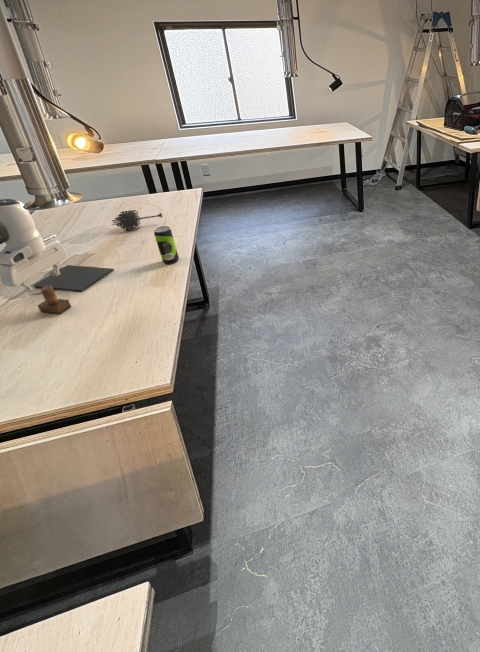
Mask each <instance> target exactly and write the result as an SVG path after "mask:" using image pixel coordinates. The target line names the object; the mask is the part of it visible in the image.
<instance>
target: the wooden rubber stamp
mask: <svg viewBox="0 0 480 652" xmlns="http://www.w3.org/2000/svg"><path fill="white" fill-rule="evenodd" d="M39 289H40V292H41V294H42V297H43V299H44V301H42V302H41V303H39V304H38V305H37V308H38V310H39V312H40V313H42V314H53V315H62V314H63V313H64V312H66V311H67V310H69V309H70V308H72V304H71V303H70V301H69V299H63V298H58V296H57V294H56V292H55V290H54V289H53V288H52V286H45V287H43V288H39Z"/></svg>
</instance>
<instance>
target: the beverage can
mask: <svg viewBox="0 0 480 652" xmlns="http://www.w3.org/2000/svg"><path fill="white" fill-rule="evenodd" d="M153 234H154V237H155V242H156V244H157V248H158V251H159V255H160V257H161V259H162V260H161V261H162V263H163V264H165V265H172V263H173V264H176V263H177V262H178V261H179V259H180V258H179V257H180V256H179V253H178V250H177V246H176V242H175V239H174V235H173V232H172V229H171V227H170V226H168V225H162V226H159V227H157V228H154V230H153Z"/></svg>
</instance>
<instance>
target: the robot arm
mask: <svg viewBox="0 0 480 652" xmlns="http://www.w3.org/2000/svg"><path fill="white" fill-rule="evenodd" d="M24 205H25V204H24V203H23V202H21V201H20V200H18V199H12V198H3V199H0V245H2V244H5V246H4V247H3V248H2V249H1V250H0V281H1V282H2V284H3V285H4V286H6V287H11V288H12V287H13V288H15V287H18V286H21V287H24V288H25V289H26V291H27V292H28V293H32V292H34V291H36V289H37V288H35V286H34V284H29V280H30V279H32V278H34V277H36V276H38V275H39V274H41V273H43V272H44V271H46V270H47V269H48V270H49V268H51V267H52V271H50V273H51V274H52V275H53V276H54V277H55V276H56V277H57V276H58V275H60V272H59V270H60V266H61V263H60V262H61V261H63V260H65V259H66V258H67V256H68V253H67V251H66V249H65V247H64V246H63V245H62V243H61V242H60V239H59V237H58V236H57V235H54V234H53V235H52V234H50V235H48V236H46V237H44V238H42V236H41V234H40V232H39V231H38V230H37V228H36V226H35V225H36V224H35V221H34V219H33V217H32V214H31V213H30V211H29V209H28V210H26V209H24V208H23V206H24Z"/></svg>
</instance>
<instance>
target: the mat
mask: <svg viewBox="0 0 480 652" xmlns="http://www.w3.org/2000/svg"><path fill="white" fill-rule="evenodd" d="M113 270H114V271H115V269H114V268H111V267H99V266H98V267H97V266H85V265H72V264H66V265H65V266H63V267H62V268H59V272H60V275H58V276H57V277H56V276H55V277H54V276H53V275H52V273H51V274H50V275H48V276H46V277H45V278H42V279H41V280H40V281H37V282H36V283H34V284H33V285H34V286H35V288H36V289H41V288H43V287H45V286H52V288H53V290H54V291H55V290H56V291H67V292H79V293H83V292H84V291H86V290H87V289H89V288H90V287H91V286H93V285H95V284H96V283H98V282H99V281H101V280H102V279H103V278H105V277H106V276H108V275H109V274H111V273H112V272H114V271H113ZM110 272H111V273H110ZM107 274H108V275H107ZM104 276H105V277H104ZM101 278H102V279H101ZM97 281H98V282H97Z"/></svg>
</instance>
